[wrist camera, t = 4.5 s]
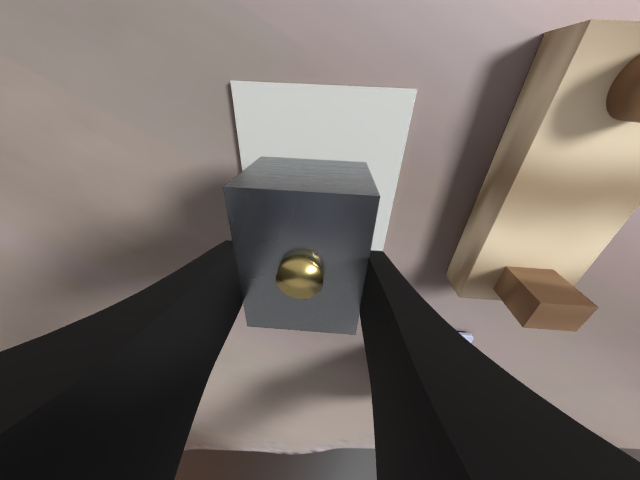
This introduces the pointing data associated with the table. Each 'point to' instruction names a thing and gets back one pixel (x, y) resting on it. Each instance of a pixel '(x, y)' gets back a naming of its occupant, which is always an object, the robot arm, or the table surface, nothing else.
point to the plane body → (558, 178)
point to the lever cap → (302, 241)
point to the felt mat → (328, 129)
